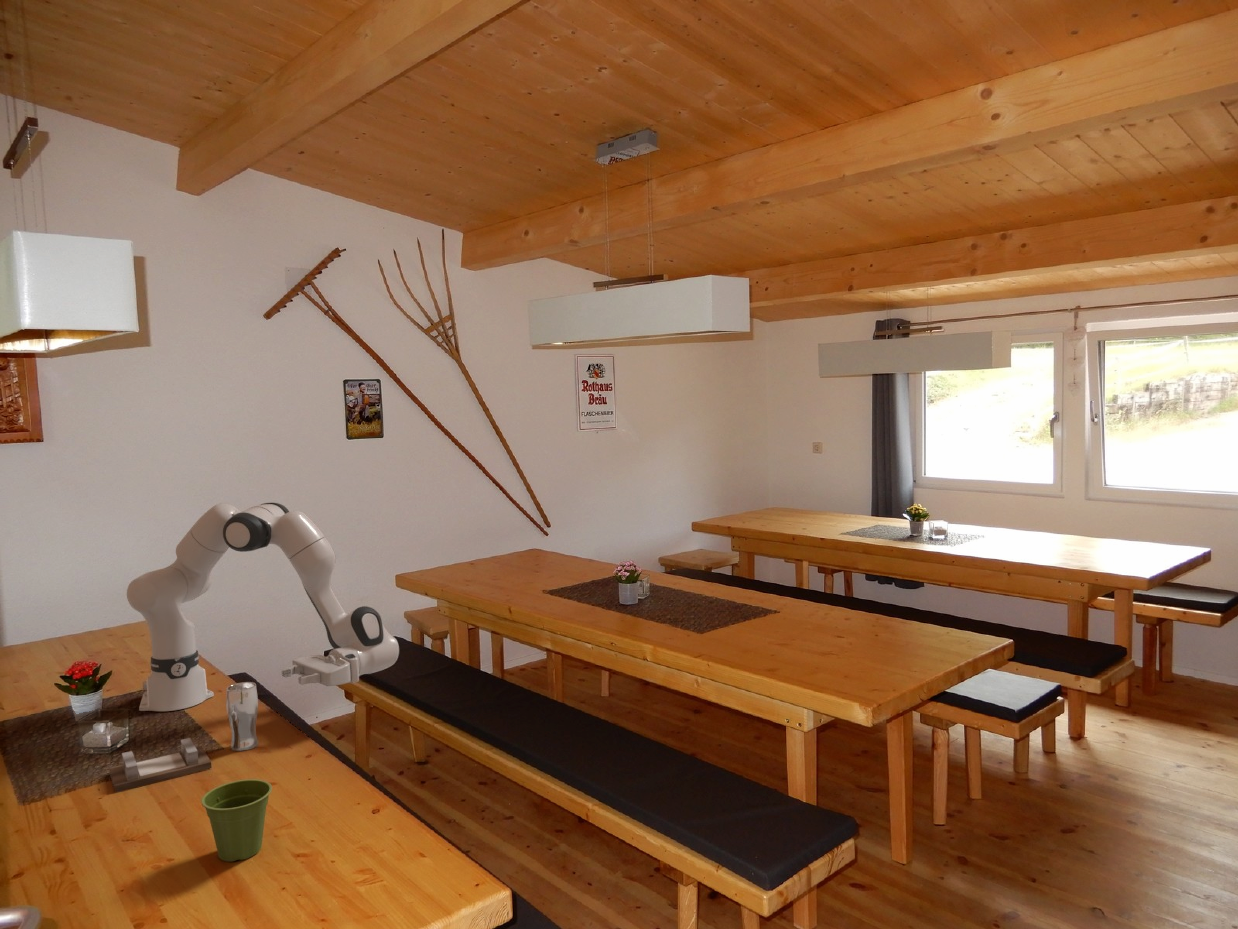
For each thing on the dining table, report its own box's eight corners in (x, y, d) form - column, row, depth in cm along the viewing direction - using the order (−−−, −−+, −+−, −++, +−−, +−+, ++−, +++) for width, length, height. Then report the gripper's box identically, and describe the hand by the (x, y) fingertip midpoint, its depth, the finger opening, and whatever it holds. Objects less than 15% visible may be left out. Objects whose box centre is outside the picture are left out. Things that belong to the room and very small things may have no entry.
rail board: (109, 774, 188) (108, 754, 187) (201, 752, 199) (200, 733, 199) (115, 792, 178) (113, 772, 178) (211, 768, 189) (210, 749, 189)
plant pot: (191, 870, 147) (187, 808, 146) (226, 836, 158) (222, 779, 158) (256, 870, 146) (252, 808, 145) (286, 836, 158) (283, 779, 157)
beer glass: (248, 753, 198) (244, 691, 197) (222, 751, 199) (219, 690, 198) (266, 741, 205) (263, 682, 204) (241, 740, 206) (238, 681, 205)
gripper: (322, 646, 227) (272, 658, 217) (360, 659, 213) (308, 672, 203) (323, 668, 227) (274, 682, 217) (361, 683, 213) (310, 698, 203)
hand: (291, 677), depth 210 cm, fingers open, 8 cm apart
